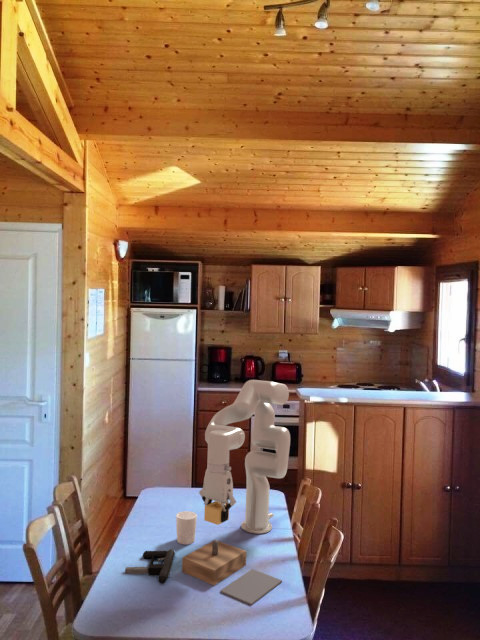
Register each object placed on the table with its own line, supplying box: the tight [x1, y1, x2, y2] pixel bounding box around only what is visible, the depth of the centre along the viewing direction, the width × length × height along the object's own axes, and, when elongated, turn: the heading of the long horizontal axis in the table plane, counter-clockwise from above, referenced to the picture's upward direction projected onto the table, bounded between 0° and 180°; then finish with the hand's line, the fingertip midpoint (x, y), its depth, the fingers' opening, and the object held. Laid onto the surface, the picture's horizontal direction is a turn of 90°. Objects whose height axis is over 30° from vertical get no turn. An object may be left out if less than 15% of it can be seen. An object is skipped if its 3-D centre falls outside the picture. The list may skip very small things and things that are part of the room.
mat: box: [219, 568, 283, 606], centre depth 175 cm, size 18×12×1 cm, turn 144°
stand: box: [181, 539, 247, 586], centre depth 186 cm, size 18×14×10 cm
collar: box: [204, 500, 230, 526], centre depth 186 cm, size 6×6×5 cm
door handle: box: [124, 548, 176, 584], centre depth 185 cm, size 3×20×16 cm
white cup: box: [175, 510, 198, 545], centre depth 207 cm, size 8×8×10 cm
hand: (216, 518), depth 186 cm, fingers closed on collar, 5 cm apart
